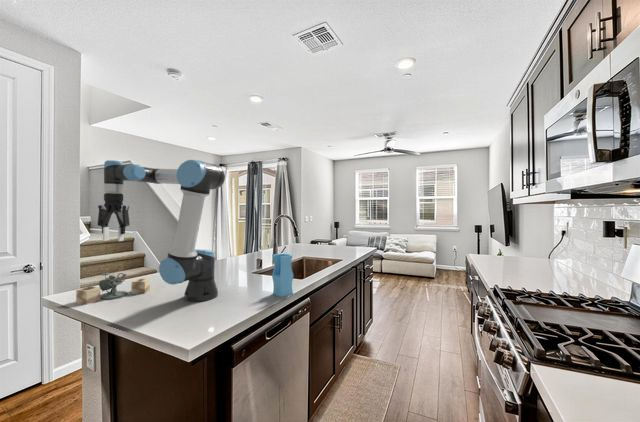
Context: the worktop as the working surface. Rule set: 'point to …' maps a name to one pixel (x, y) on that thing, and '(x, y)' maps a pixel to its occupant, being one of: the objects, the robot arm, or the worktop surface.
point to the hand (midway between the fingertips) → (113, 240)
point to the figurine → (109, 284)
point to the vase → (282, 275)
